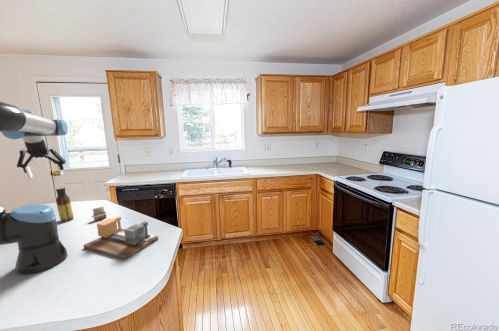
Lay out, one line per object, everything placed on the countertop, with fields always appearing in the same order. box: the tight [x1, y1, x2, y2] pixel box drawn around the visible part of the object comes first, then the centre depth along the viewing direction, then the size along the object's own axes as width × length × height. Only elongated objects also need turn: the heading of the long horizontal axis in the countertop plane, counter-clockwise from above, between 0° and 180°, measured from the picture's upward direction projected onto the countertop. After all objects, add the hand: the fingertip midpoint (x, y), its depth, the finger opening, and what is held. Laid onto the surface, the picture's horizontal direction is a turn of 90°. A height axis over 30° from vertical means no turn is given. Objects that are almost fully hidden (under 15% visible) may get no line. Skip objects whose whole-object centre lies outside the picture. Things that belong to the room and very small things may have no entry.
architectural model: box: [91, 206, 107, 221], centre depth 131 cm, size 3×7×7 cm, turn 141°
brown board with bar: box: [83, 221, 159, 261], centre depth 102 cm, size 18×26×9 cm
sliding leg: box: [96, 216, 122, 238], centre depth 107 cm, size 10×5×6 cm, turn 158°
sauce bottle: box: [55, 186, 74, 223], centre depth 130 cm, size 7×6×20 cm
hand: (46, 176), depth 124 cm, fingers open, 13 cm apart
